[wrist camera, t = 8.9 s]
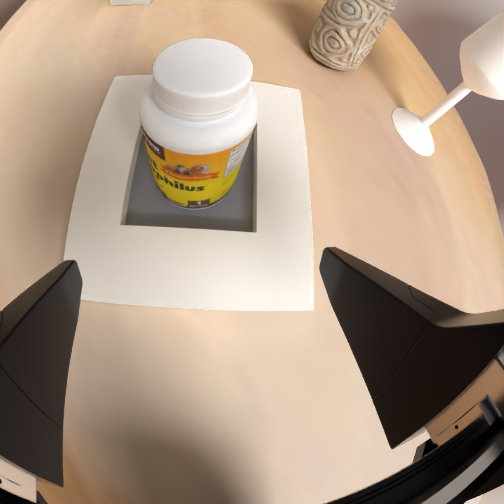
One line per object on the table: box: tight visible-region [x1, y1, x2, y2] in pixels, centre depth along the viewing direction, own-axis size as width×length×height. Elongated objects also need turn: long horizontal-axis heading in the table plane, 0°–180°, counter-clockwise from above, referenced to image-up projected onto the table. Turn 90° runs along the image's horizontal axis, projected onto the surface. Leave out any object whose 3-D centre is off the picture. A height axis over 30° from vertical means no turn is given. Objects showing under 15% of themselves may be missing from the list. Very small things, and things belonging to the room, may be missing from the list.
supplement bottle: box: [139, 38, 259, 210], centre depth 13 cm, size 6×6×10 cm
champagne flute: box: [392, 10, 504, 156], centre depth 14 cm, size 7×7×24 cm
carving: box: [309, 0, 397, 71], centre depth 19 cm, size 6×8×12 cm
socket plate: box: [63, 75, 314, 311], centre depth 18 cm, size 18×16×2 cm
